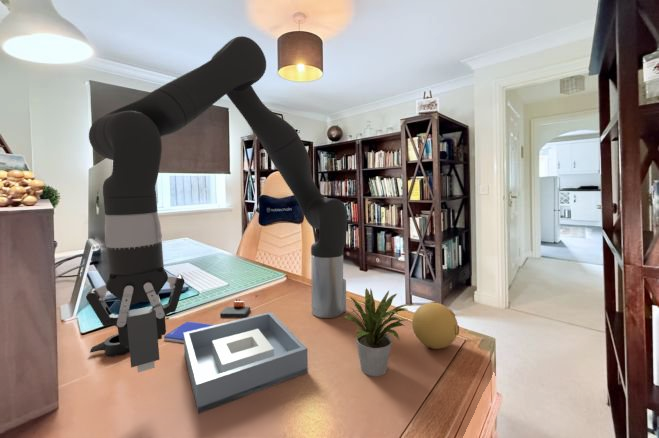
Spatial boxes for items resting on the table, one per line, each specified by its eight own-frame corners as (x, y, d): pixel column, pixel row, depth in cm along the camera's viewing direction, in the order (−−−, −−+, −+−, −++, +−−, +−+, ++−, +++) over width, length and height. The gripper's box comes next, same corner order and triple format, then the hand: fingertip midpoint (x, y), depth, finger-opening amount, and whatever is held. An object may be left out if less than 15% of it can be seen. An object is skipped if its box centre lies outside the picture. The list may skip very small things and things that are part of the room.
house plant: (395, 409, 48) (397, 314, 46) (324, 380, 55) (324, 297, 54) (418, 364, 60) (421, 288, 58) (358, 346, 68) (358, 277, 66)
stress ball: (424, 362, 63) (465, 341, 59) (398, 320, 66) (435, 297, 62) (434, 348, 71) (470, 329, 67) (410, 311, 75) (443, 291, 71)
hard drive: (163, 335, 71) (208, 342, 68) (187, 320, 78) (228, 325, 75) (164, 341, 71) (208, 348, 68) (188, 326, 79) (229, 331, 76)
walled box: (271, 330, 75) (270, 311, 74) (307, 372, 58) (307, 348, 57) (184, 354, 64) (183, 332, 64) (198, 413, 48) (196, 384, 47)
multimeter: (232, 294, 101) (231, 285, 101) (265, 296, 100) (265, 286, 100) (204, 318, 83) (203, 307, 83) (245, 320, 82) (244, 308, 82)
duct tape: (119, 339, 72) (118, 327, 71) (153, 344, 69) (152, 332, 69) (86, 357, 64) (85, 344, 64) (123, 363, 62) (122, 350, 61)
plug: (159, 359, 52) (155, 305, 51) (160, 367, 50) (155, 311, 49) (132, 366, 50) (127, 310, 49) (131, 376, 48) (126, 317, 47)
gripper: (181, 233, 54) (187, 322, 56) (82, 242, 47) (93, 343, 49) (186, 239, 48) (192, 339, 50) (72, 251, 41) (86, 367, 43)
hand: (143, 340), depth 49 cm, fingers closed on plug, 4 cm apart
